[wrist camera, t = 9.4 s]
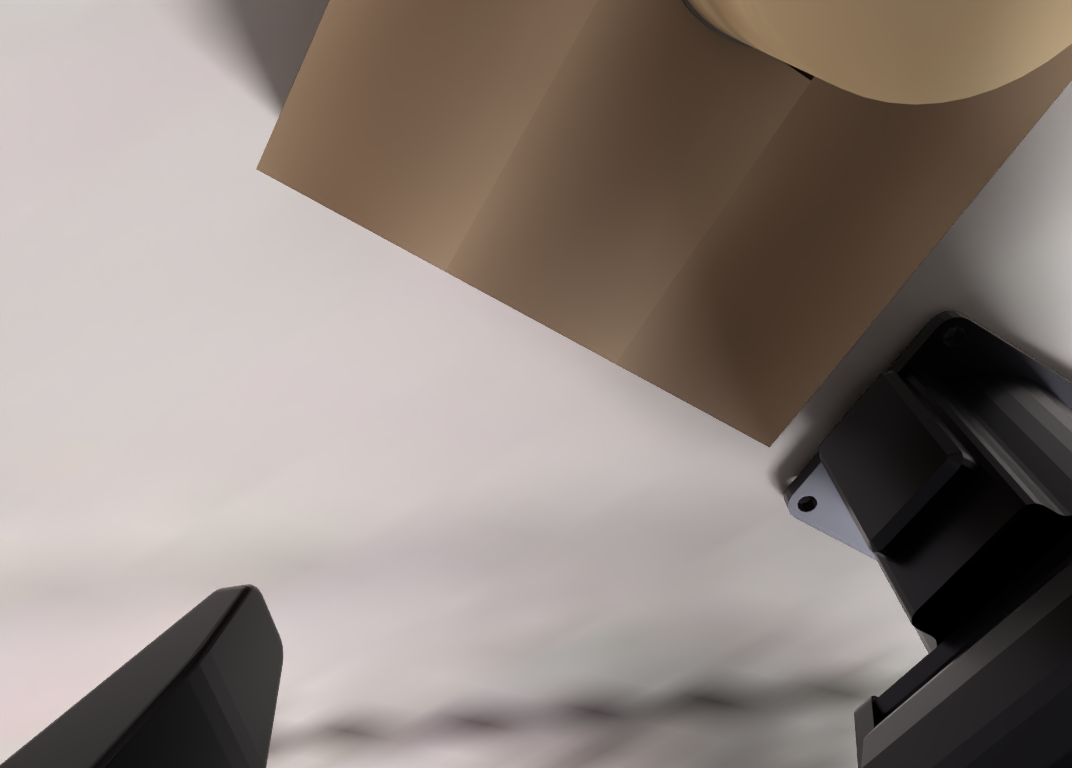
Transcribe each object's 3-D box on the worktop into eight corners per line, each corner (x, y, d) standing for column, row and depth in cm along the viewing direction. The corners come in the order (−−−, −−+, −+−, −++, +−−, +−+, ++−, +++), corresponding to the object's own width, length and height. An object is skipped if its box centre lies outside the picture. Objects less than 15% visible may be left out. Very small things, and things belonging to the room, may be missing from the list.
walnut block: (1107, -87, 17) (1214, -95, 14) (741, 385, 22) (769, 447, 19) (584, -505, 14) (595, -610, 12) (297, 137, 19) (256, 169, 16)
